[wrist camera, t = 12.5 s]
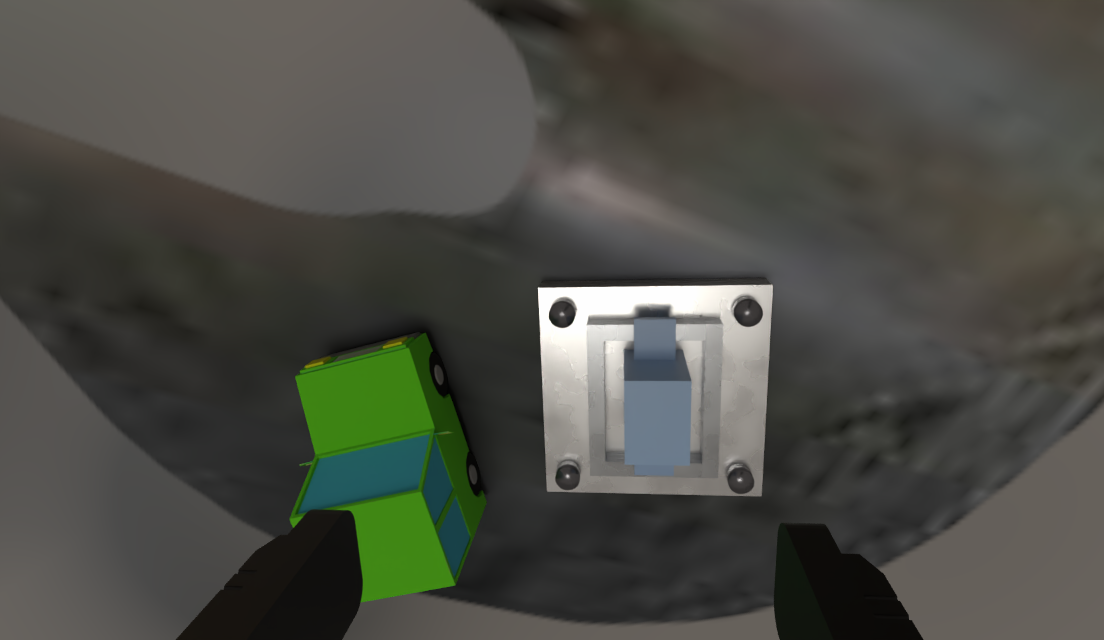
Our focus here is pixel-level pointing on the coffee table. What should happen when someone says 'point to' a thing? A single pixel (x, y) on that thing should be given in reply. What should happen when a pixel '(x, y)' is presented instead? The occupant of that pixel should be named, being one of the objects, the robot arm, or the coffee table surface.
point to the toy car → (392, 463)
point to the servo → (656, 399)
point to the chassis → (598, 381)
